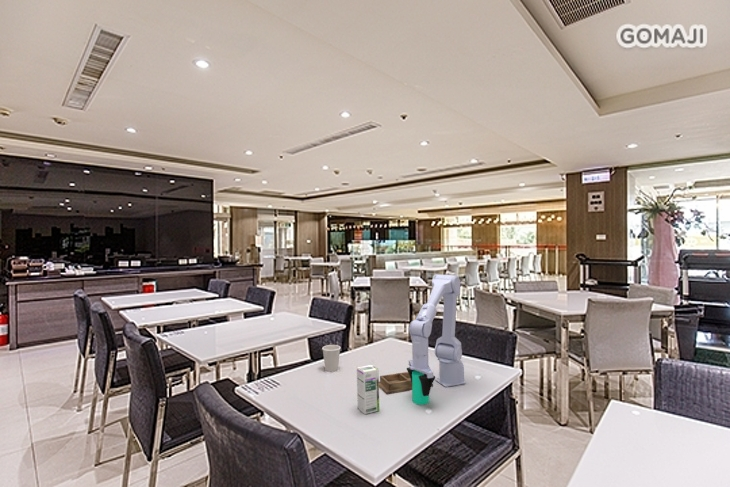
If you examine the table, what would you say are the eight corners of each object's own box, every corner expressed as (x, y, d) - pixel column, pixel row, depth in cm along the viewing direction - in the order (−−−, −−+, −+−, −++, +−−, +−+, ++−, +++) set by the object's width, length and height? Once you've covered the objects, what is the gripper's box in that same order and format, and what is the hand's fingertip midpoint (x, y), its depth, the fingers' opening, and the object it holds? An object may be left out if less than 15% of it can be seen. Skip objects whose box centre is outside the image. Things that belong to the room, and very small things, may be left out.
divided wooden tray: (420, 377, 156) (419, 369, 156) (432, 386, 147) (432, 377, 147) (376, 384, 149) (376, 375, 149) (386, 394, 140) (386, 385, 139)
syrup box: (364, 415, 123) (364, 371, 123) (356, 407, 129) (356, 366, 129) (379, 411, 126) (379, 368, 126) (371, 404, 131) (370, 363, 131)
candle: (428, 405, 130) (428, 371, 130) (411, 404, 131) (411, 370, 131) (429, 398, 136) (429, 365, 136) (413, 397, 137) (412, 364, 137)
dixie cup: (344, 368, 168) (344, 346, 168) (333, 374, 161) (333, 351, 161) (330, 365, 173) (329, 343, 173) (318, 370, 166) (318, 348, 166)
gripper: (401, 349, 139) (401, 385, 139) (420, 361, 125) (420, 401, 125) (417, 347, 141) (418, 382, 141) (438, 358, 128) (438, 397, 128)
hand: (420, 391), depth 133 cm, fingers open, 7 cm apart
